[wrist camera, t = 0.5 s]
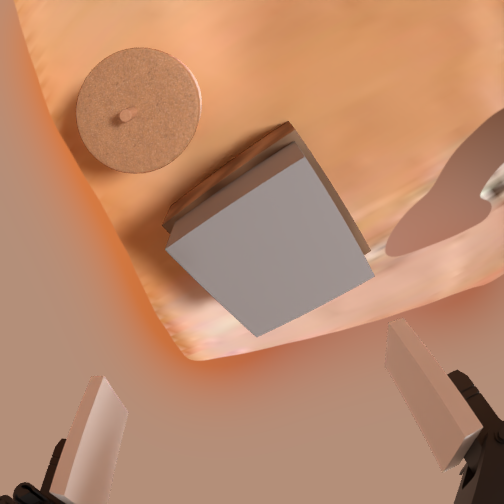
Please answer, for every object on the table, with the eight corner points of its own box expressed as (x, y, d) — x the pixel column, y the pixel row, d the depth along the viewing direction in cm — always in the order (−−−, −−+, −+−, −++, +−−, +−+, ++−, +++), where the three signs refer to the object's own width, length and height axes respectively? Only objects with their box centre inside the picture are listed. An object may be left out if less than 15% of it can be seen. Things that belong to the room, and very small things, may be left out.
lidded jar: (195, 37, 24) (175, 26, 17) (220, 134, 30) (211, 162, 23) (98, 72, 25) (50, 80, 18) (126, 160, 31) (91, 196, 24)
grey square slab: (294, 141, 26) (304, 156, 22) (360, 248, 33) (375, 276, 29) (175, 222, 31) (164, 249, 27) (255, 305, 37) (256, 337, 33)
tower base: (287, 120, 30) (295, 129, 26) (357, 228, 37) (371, 250, 33) (171, 204, 35) (161, 225, 31) (253, 289, 42) (254, 316, 38)
